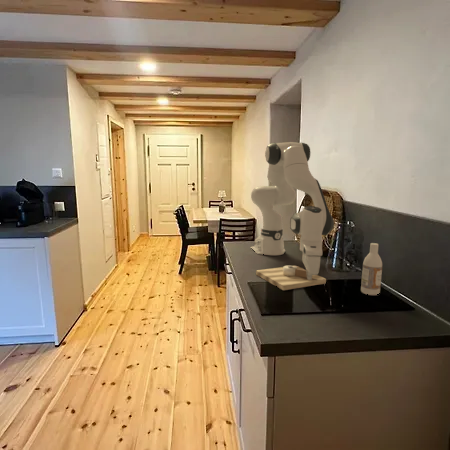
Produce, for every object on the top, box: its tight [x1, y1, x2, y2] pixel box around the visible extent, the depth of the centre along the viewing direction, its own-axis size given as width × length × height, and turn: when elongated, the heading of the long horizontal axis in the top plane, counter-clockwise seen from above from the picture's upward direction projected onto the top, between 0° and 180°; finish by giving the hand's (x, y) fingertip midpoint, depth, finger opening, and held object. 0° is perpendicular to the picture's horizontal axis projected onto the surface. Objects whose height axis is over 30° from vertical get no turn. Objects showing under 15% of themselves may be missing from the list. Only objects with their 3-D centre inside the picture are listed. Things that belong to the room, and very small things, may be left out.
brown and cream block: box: [282, 264, 307, 278], centre depth 144 cm, size 13×6×4 cm, turn 54°
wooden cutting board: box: [255, 265, 327, 291], centre depth 147 cm, size 22×22×2 cm
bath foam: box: [360, 242, 383, 296], centre depth 130 cm, size 7×7×20 cm
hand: (308, 278), depth 137 cm, fingers closed
